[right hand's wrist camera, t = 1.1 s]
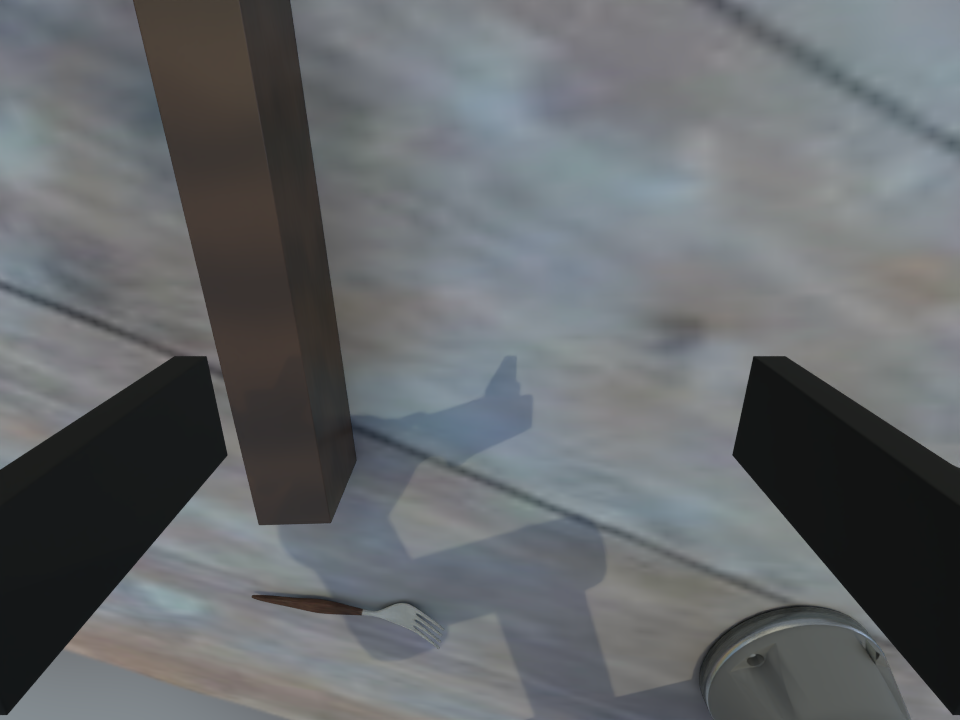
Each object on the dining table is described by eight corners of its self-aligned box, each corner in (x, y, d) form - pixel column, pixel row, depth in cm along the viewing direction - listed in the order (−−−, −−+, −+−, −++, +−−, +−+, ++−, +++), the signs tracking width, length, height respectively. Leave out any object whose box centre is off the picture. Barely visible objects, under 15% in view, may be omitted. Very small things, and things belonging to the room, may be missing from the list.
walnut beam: (356, 460, 38) (331, 523, 31) (296, 462, 38) (258, 525, 31) (286, -26, 27) (224, -85, 20) (201, -23, 27) (112, -80, 20)
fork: (255, 579, 42) (244, 599, 40) (446, 608, 43) (444, 628, 41) (253, 603, 43) (243, 623, 41) (440, 630, 44) (439, 651, 42)
